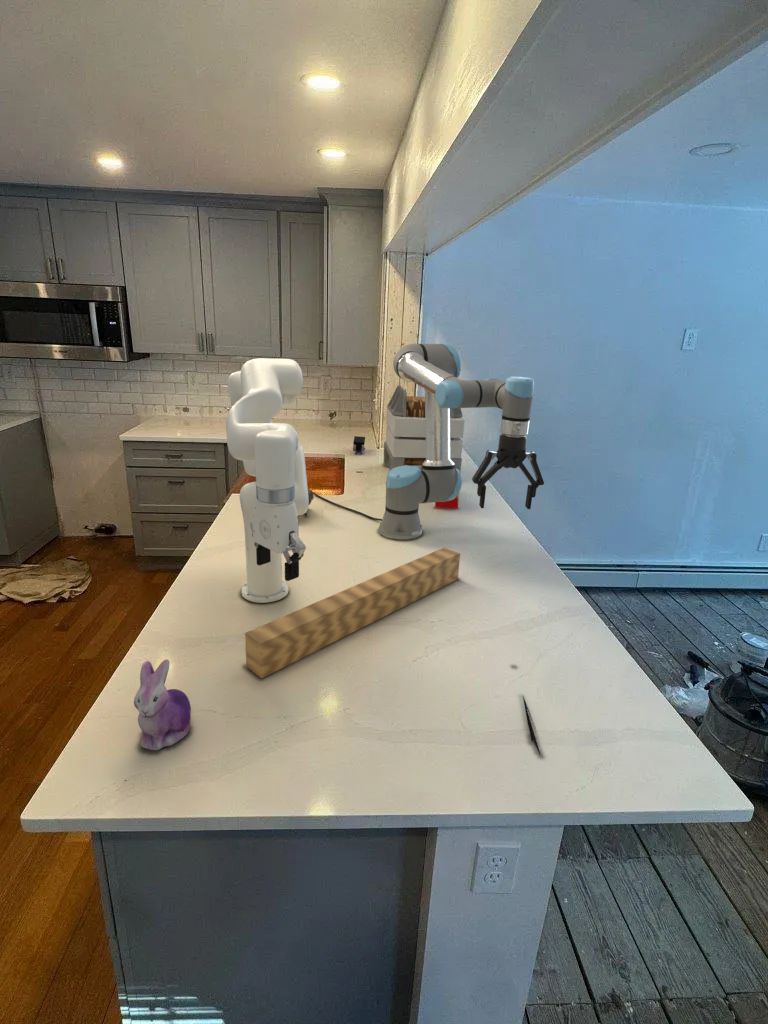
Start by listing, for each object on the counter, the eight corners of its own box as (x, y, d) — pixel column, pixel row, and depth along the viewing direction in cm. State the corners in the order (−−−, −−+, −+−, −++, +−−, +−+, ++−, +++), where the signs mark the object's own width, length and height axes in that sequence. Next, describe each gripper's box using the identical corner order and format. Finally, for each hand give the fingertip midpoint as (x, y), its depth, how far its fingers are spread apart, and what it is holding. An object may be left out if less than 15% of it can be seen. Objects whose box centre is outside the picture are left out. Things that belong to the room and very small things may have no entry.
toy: (452, 466, 252) (464, 476, 223) (451, 496, 255) (462, 509, 226) (425, 465, 252) (433, 475, 222) (424, 495, 254) (431, 508, 225)
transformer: (382, 463, 289) (386, 382, 275) (445, 464, 293) (451, 384, 279) (390, 482, 257) (394, 392, 243) (460, 483, 261) (468, 394, 247)
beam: (442, 572, 172) (444, 547, 169) (457, 579, 168) (460, 552, 165) (246, 666, 123) (244, 632, 121) (261, 678, 120) (260, 643, 117)
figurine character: (364, 457, 303) (365, 448, 317) (365, 444, 300) (365, 435, 313) (352, 457, 303) (353, 447, 316) (352, 444, 300) (353, 434, 313)
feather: (514, 670, 128) (520, 664, 128) (540, 759, 101) (547, 752, 101) (508, 666, 128) (514, 660, 127) (532, 755, 101) (539, 747, 101)
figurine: (141, 761, 97) (132, 687, 92) (135, 723, 105) (126, 654, 100) (198, 744, 101) (192, 673, 96) (188, 709, 110) (182, 642, 104)
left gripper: (235, 486, 116) (238, 562, 122) (287, 508, 105) (288, 591, 111) (265, 480, 121) (267, 553, 127) (318, 500, 110) (318, 579, 116)
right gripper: (471, 436, 152) (464, 510, 159) (562, 439, 154) (551, 512, 161) (466, 430, 159) (459, 501, 166) (553, 433, 161) (542, 503, 168)
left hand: (277, 571), depth 119 cm, fingers open, 9 cm apart
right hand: (504, 507), depth 163 cm, fingers open, 13 cm apart
